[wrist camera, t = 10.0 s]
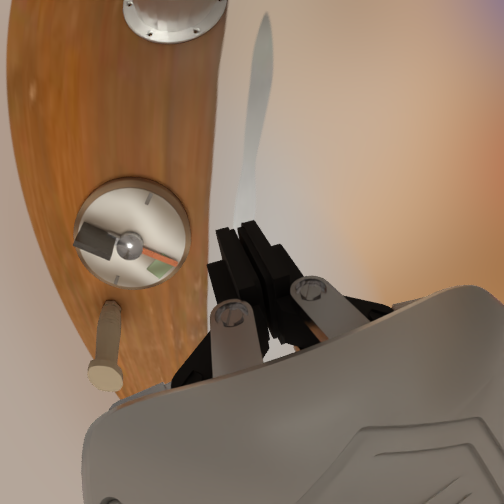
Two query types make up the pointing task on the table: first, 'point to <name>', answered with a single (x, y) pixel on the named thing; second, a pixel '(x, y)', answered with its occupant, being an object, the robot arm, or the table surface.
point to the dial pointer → (103, 244)
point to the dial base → (143, 223)
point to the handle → (107, 350)
